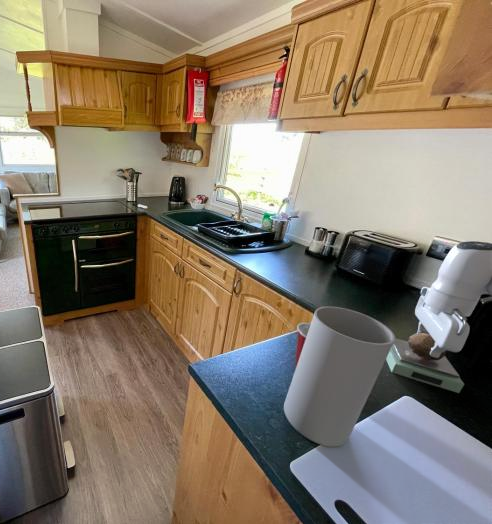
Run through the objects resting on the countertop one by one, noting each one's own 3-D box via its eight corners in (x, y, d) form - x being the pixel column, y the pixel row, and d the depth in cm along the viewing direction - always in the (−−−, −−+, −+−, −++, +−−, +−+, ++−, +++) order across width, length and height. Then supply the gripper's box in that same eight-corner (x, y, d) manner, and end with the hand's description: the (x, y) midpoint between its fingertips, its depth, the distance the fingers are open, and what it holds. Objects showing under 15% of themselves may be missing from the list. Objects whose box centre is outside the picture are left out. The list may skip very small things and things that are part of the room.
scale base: (437, 361, 86) (442, 352, 84) (459, 394, 74) (466, 383, 72) (379, 345, 91) (384, 336, 90) (391, 373, 79) (396, 362, 78)
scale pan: (439, 352, 84) (440, 350, 84) (458, 378, 74) (459, 376, 74) (388, 338, 89) (389, 336, 89) (399, 361, 79) (401, 359, 78)
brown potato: (409, 331, 86) (425, 323, 81) (438, 351, 82) (457, 345, 77) (395, 348, 84) (410, 341, 79) (424, 370, 80) (442, 365, 75)
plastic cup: (338, 375, 77) (353, 338, 73) (317, 390, 71) (332, 351, 67) (299, 351, 85) (310, 317, 81) (277, 363, 80) (288, 327, 75)
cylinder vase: (331, 403, 68) (369, 311, 59) (360, 454, 56) (413, 350, 47) (276, 393, 69) (305, 302, 60) (293, 441, 58) (331, 338, 49)
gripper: (487, 324, 65) (458, 373, 70) (448, 290, 82) (427, 331, 87) (450, 316, 67) (425, 363, 73) (420, 285, 85) (401, 325, 90)
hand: (426, 345), depth 80 cm, fingers open, 8 cm apart
